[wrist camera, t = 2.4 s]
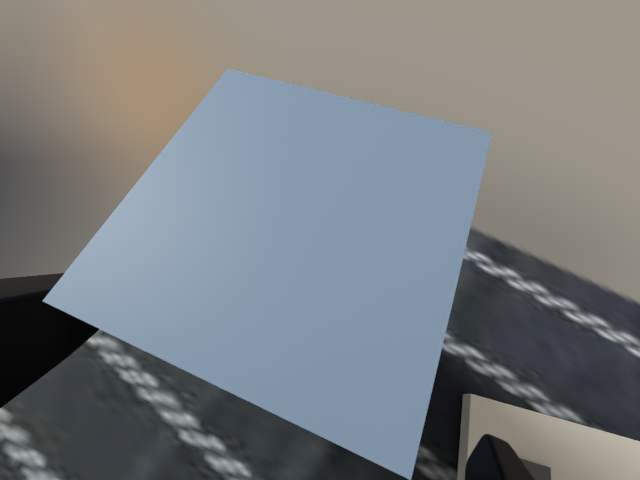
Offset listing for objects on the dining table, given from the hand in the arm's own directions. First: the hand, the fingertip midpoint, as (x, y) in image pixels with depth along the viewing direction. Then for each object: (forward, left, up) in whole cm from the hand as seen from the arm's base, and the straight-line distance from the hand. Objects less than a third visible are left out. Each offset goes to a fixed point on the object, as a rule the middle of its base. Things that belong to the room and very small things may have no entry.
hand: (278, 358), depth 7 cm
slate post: (+2, 0, -9) cm, 9 cm away
